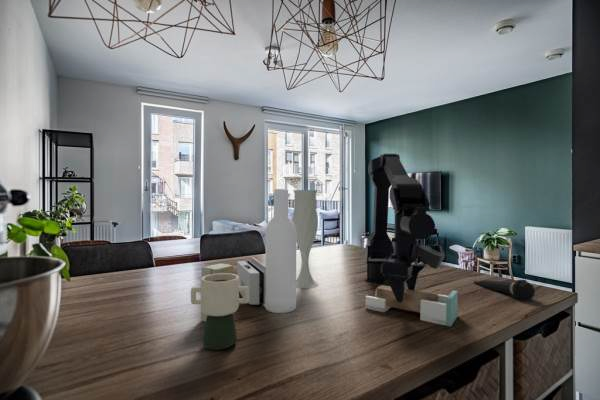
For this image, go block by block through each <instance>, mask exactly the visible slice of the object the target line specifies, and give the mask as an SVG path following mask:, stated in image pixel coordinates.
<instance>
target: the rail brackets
mask: <svg viewBox="0 0 600 400" xmlns="http://www.w3.org/2000/svg"><path fill="white" fill-rule="evenodd" d="M432 293H433V292H432ZM458 293H459V291H458V290H452V291H451V292H450V293H449V294H448V295H446V294H439V293H437V294H438V302H434V301H428V300H421V305H420V312H419V313H420V318H419V319H420V321H424V322H427V323H433V324H436V325H437V324H438V325H442V326H446V327H452V326H453V324H454V322H455V321H456V319H457V318H458V302H459V301H458V297H459V295H458ZM433 294H435V293H433ZM364 305H365V309H367V310H371V311H375V312H381V313H386V312H387V311H389V310H390V309H391V308H392V307H390V306H386V299H383V298H377V297H376V296H370V295H366V296H365V304H364Z"/></svg>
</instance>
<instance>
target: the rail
mask: <svg viewBox="0 0 600 400" xmlns="http://www.w3.org/2000/svg"><path fill="white" fill-rule="evenodd" d="M438 294H439V293H434V294H433V292H427V291H426V292H425V291H420V290H416V289H415V290H409V289H408V288H405V290H404V296H403V301H402V302H397V300H396V298H395V295H394V293H393V291H392V289H391V287H390V285H383V284H381V285H379V286H378V287H376V289H375V297H377V298H383V299H386V306H390V307H391V308H395V309H401V310H405V311H411V312H416V313H420V305H421V300H428V301H434V302H438Z"/></svg>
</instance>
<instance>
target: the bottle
mask: <svg viewBox="0 0 600 400" xmlns="http://www.w3.org/2000/svg"><path fill="white" fill-rule="evenodd" d="M289 195H290V194H289V189H288V188H275V189H273V194H272V196H273V217H272V218H271V219H270V220H269V221H268V223H267V225H266V228H265V266H266V295H265V304H264V305H265V309H266V310H267V312H270V313H274V314H285V313H287V314H288V313H290V312H294V311H295V310H296V308H297V300H298V299H297V298H298V297H297V287H296V280H297V242H296V228H295V225H294V223H293V219H292V220H291V218H290V217H289Z"/></svg>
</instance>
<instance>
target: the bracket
mask: <svg viewBox="0 0 600 400" xmlns="http://www.w3.org/2000/svg"><path fill="white" fill-rule="evenodd" d="M236 262H237V263H236V266H237V267H236V275H238V277H239V286H247V287H249V302H248V303H247V304H249V305H257V306H258V305H261V304H263V305H265V295H266V264H263V262H260V261H259V260H258V259H256V258H255V257H253V256H250V260H241V261H240V260H239V261H236ZM239 295H241V297H242V298H244V291H239Z"/></svg>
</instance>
